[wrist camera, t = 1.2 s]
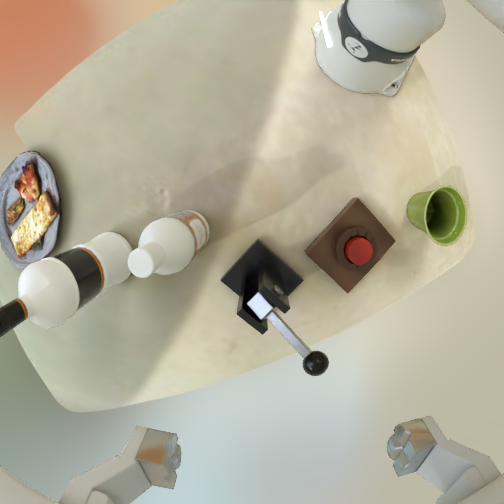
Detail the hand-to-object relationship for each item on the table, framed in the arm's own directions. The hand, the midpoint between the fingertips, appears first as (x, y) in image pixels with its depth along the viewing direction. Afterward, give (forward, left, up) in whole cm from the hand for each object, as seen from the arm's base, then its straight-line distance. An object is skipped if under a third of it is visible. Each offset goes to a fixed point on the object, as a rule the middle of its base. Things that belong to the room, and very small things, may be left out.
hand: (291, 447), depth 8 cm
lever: (+5, +9, -25) cm, 27 cm away
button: (-9, +11, -34) cm, 37 cm away
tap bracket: (+5, +4, -37) cm, 38 cm away
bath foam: (+7, -10, -38) cm, 40 cm away
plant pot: (-23, +17, -38) cm, 47 cm away
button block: (-9, +11, -37) cm, 40 cm away
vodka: (+20, -18, -38) cm, 46 cm away
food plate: (+28, -42, -38) cm, 63 cm away
